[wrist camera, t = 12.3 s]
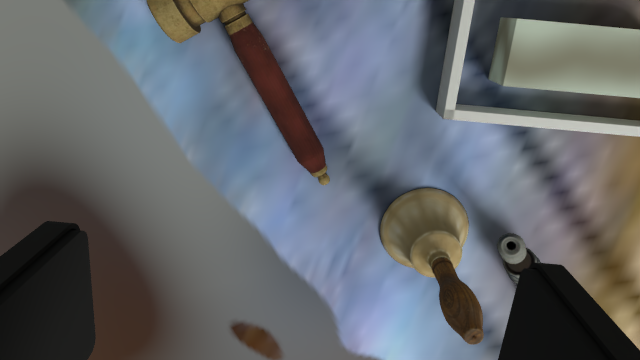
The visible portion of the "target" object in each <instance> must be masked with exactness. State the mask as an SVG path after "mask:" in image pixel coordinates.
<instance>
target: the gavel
mask: <svg viewBox="0 0 640 360" xmlns="http://www.w3.org/2000/svg"><path fill="white" fill-rule="evenodd" d="M247 1H248V0H147V4H148V6H149V9H150V11H151V13H152V15H153V16H154V18H155V20H156V21H157V23H158V24H159V26H160V27H161V29H162V30H163V31H164V32H165V33H166V34H167V36H168V37H170V38H171V39H172V40H174V41H175V42H178V43H182V42H183V41H185V40H187V39H189V38H191V37H192V36H194V35H196V34H198V33H200V31H201V28H200V25H201V24H203V23H205V22H211V21H213V20H214V19H216V18H218V17H219V19H220V20H221V22H222V23H223V22H224V23H225V25H226V26H225V29H226V30H227V32H228V34H229V36H230V38H231V41H232V44H233V47H234V49H235V52H236V53H237V55H238V57H239V59H240V60H241V62H242V64H243V66H244V67H245V69H246V71H247V73H248V74H249V76H250V78H251V80H252V82H253V83H254V85H255V87H256V89H257V90H258V92H259V94H260V96H261V97H262V99H263V101H264V103H265V105H266V106H267V108H268V110H269V112H270V113H271V115H272V117H273V119H274V120H275V122H276V124H277V126H278V127H279V129H280V131H281V133H282V135H283V136H284V138H285V140H286V142H287V143H288V145H289V147H290V149H291V150H292V152H293V154H294V156H295V158H296V159H297V161H298V162H299V163H300V164H301V165H302V166H303V167H304V168H306V169H307V170H308V171H309V172H310V173H311V175H312V176H314V177H318V180H319V183H320V184H322V185H326V184H328V183H329V181H330V178H329V176H328V175H327V174H326V173H325V172H326V171H327V166H326V163H325V156H324V150H323V147H322V145H321V143H320V141H319V139H318V138H317V136H316V134H315V132H314V130H313V128H312V126H311V125H310V123H309V121H308V119H307V117H306V115H305V113H304V112H303V110H302V108H301V106H300V104H299V102H298V100H297V98H296V97H295V95H294V93H293V91H292V89H291V87H290V85H289V84H288V82H287V80H286V78H285V76H284V74H283V72H282V71H281V69H280V67H279V65H278V63H277V61H276V59H275V58H274V56H273V54H272V52H271V50H270V48H269V46H268V45H267V43H266V41H265V39H264V37H263V35H262V34H261V33H260V31H259V30H258V29H257V27H256V26H255V25H254V24H253V22H252V20H251V18H250V17H249V15H248V14H246V13H245V10H246V8H245V7H244V5H243V3H245V2H247Z"/></svg>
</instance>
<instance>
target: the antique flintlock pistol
mask: <svg viewBox="0 0 640 360" xmlns="http://www.w3.org/2000/svg"><path fill="white" fill-rule="evenodd" d="M497 247H498V251H499V253H500V254H501V257H502V259H504V260H503V265H504V267H505V269H506V271H507V273H508V275H509V277H510V279H511V280H513V281H514V282H515V283H517V284H518V280H519V276H520V273H521V271H522V270H523V269H524V268H526V269H529V267H530V265H531V264H532V263H541V262H540V260H539V259H538V258H537V257H536V256H535V254H534V253H533V252H532V251H531V250H529V249H528V248H525V243H524V241H523V239H522V238H521V237H520V236H518V235H516V234H511V233H508V234H505V235H503V236H502V237H501V238H500V239H499V241H498V243H497Z"/></svg>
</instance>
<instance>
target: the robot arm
mask: <svg viewBox="0 0 640 360" xmlns="http://www.w3.org/2000/svg"><path fill="white" fill-rule="evenodd" d="M88 248H89V247H88V237H87V234H86V232H85V231H80V229H79V226H78V225H77V224H74V223H64V222H52V221H47V222H45V223H43V224H42V225H41V226H39V227H38V228H37V229H35V230H34V231H33V232H31V233H30V234H29V235H28V236H26V237H25V238H24V239H22V240H21V241H20V242H18V243H17V244H16V245H15V246H13V247H12V248H11V249H9V250H8V251H7V252H6V253H4V254H3V255H2V256H0V360H87V359H88V358H89V356H90V355H91V353H92V351H93V348H94V344H95V324H94V311H93V299H92V286H91V273H90V260H89V249H88ZM498 360H640V350H639V349H638V348H637V347H636V346H635V345H634V344H633V342H632V341H631V340H630V339H629V338H628V337H627V336H626V335H625V334H624V333H623V331H622V330H621V329H620V328H619V327H618V326H617V325H616V324H615V323H614V321H613V320H612V319H611V318H610V317H609V316H608V315H607V314H606V313H605V311H604V310H603V309H602V308H601V307H600V306H599V305H598V304H597V303H596V302H595V300H594V299H593V298H592V297H591V296H590V295H589V294H588V293H587V292H586V290H585V289H584V288H583V287H582V286H581V285H580V284H579V283H578V282H577V281H576V279H575V278H574V277H573V276H572V275H571V274H570V273H569V272H568V271H567V269H566V268H565V267H564V266H562V265H557V264H545V263H532V264H531V265H530V267H529V269H526V268H524V269H523V270H522V271H521V273H520V276H519V280H518V284H517V288H516V292H515V296H514V300H513V304H512V308H511V312H510V315H509V319H508V323H507V327H506V331H505V335H504V339H503V343H502V347H501V350H500V354H499V358H498Z"/></svg>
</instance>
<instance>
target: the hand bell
mask: <svg viewBox="0 0 640 360" xmlns="http://www.w3.org/2000/svg"><path fill="white" fill-rule="evenodd" d="M468 228H469V223H468V217H467V213H466V211H465V209H464V207H463V206H462V204H461V203H460V202H459V201H458V200H457V199H456V198H455V197H454V196H452V195H451V194H449V193H447V192H445V191H442V190H439V189H433V188H421V189H416V190H412V191H409V192H407V193H405V194H403V195H401V196H400V197H398V198H397V199H396V200H395V201H394V202H393V203H392V204H391V205H390V206H389V207H388V209H387V211H386V212H385V214H384V216H383V218H382V222H381V228H380V234H381V240H382V243H383V246H384V248H385V250H386V251H387V252H388V254H389V255H390V256H391V257H392V258H393V259H394V260H396V261H397V262H399V263H400V264H402V265H405V266H408V267H411V268H415V270H416V271H418V272H419V273H420V274H422V275H424V276H427V277H436V279H437V281H438V283H439V286H440V293H439V300H440V305H441V309H442V312H443V315H444V317H445V319H446V321H447V322H448V324H449V325H450V326H451V327H452V328H453V329H454V330H455V331H456V332H457V333H458V334H459V335H460V336H461V337H462V338H463V339H464V340H465V341H466V342H467V343H468V344H478V343H480V342H481V341H482V339H483V336H484V335H483V329H482V326H483V316H482V310H481V306H480V304H479V302H478V300H477V298H476V296H475V295H474V293H473V292H472V291H471V289H470V288H469V287H468V286H467V285H466V284H465V283H463V282H462V281H460V280H459V278H458V276H457V274H456V272H455V268H456V267H457V266H458V264H459V263H460V261H461V257H462V247H463V245H464V243H465V241H466V238H467V235H468Z"/></svg>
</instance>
